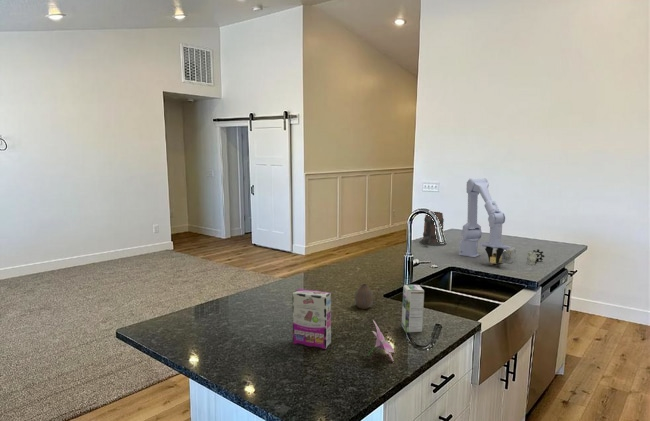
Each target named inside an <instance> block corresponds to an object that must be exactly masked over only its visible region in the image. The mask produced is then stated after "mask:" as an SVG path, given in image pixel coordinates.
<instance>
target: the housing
mask: <svg viewBox="0 0 650 421" xmlns="http://www.w3.org/2000/svg"><path fill="white" fill-rule="evenodd" d="M496 250H497V248H493V252H492V254H493V253H496ZM503 254H504V259H502V261H501V262H500V263H505V264H506V263H507V264H512V263H514V262H516V258H517V247H513V246H510V250H509V251H508V250H504V251H503Z"/></svg>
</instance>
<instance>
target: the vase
mask: <svg viewBox="0 0 650 421" xmlns="http://www.w3.org/2000/svg"><path fill="white" fill-rule="evenodd" d="M354 294H355V295H354V303H355V305H356V306H357V307H358V308H359V309H364V310H366V309H369V308H370V307H372V305H373V301H374V294H373V291H372V290H371V289H370V288H369V286H368V284H366V283H361V284H360V286H359V287H358V289H357V290H356V292H355V293H354Z"/></svg>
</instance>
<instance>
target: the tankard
mask: <svg viewBox="0 0 650 421" xmlns="http://www.w3.org/2000/svg"><path fill="white" fill-rule="evenodd" d="M433 212H434V213H435V215H436V216H437V217H438V219H439V221H440V224H441V226H442V229H443V230H444V222H445V220H444V215H443V212H440V211H433ZM423 221H424V225H423V233H422V236H423V237H422V239H420V240H421V241H420V242H419V244H420V245H423V246H428V247H443V246H446V245H447V243H446V242H445V243H444V244H440V243H438V242H437V239H436V235H435V225H434V221H433V220H432V218H431V217H430V216H428V215H426V214H425V215H424V220H423Z"/></svg>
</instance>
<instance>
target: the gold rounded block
mask: <svg viewBox="0 0 650 421" xmlns="http://www.w3.org/2000/svg"><path fill="white" fill-rule="evenodd" d="M496 258H497V254H496V253H493V254H492V256H491V257H490V262H489V263H491V264H494V265H497V264H500V263H502V262H501V261H502V259H504V254H503V253H502V255H501V257H500V260H499V262H498V263H496Z"/></svg>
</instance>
